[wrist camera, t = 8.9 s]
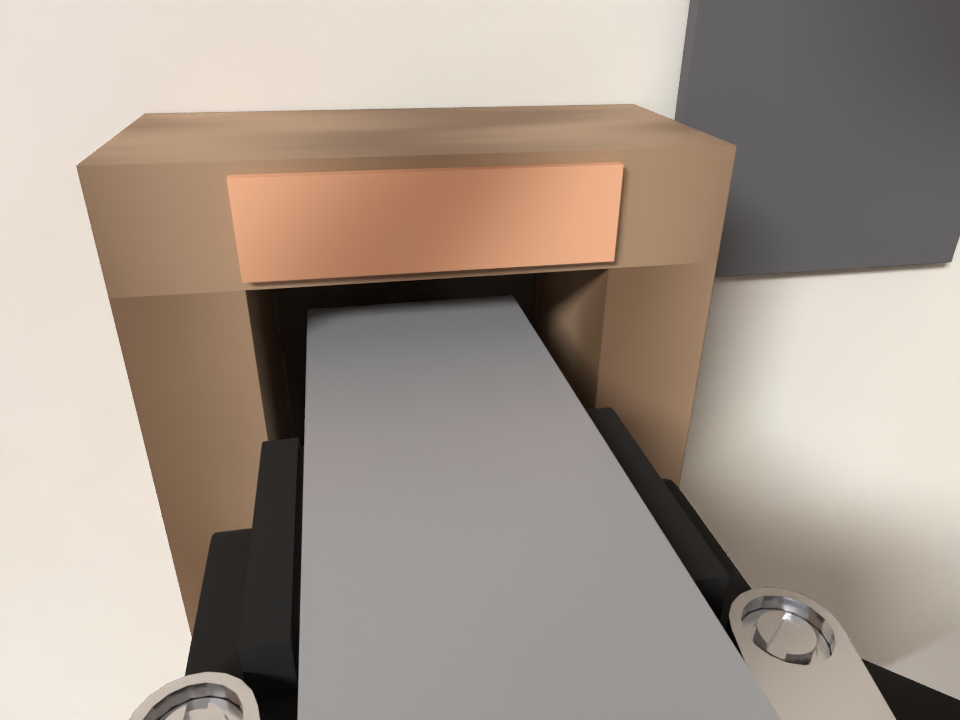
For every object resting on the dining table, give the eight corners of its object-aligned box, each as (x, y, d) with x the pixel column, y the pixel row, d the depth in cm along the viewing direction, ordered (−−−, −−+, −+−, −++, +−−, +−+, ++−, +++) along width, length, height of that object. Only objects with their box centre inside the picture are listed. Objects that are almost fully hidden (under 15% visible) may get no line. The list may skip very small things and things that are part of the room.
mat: (1053, -101, 15) (1070, -103, 15) (939, 256, 19) (951, 261, 19) (704, -113, 14) (714, -116, 14) (654, 275, 18) (661, 280, 17)
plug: (513, 295, 14) (1022, 1100, 4) (507, 461, 16) (848, 1307, 6) (307, 309, 14) (281, 1330, 3) (326, 480, 16) (347, 1487, 5)
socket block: (633, 104, 16) (742, 148, 12) (571, 713, 25) (619, 856, 21) (144, 113, 14) (72, 168, 10) (271, 763, 23) (261, 930, 19)
